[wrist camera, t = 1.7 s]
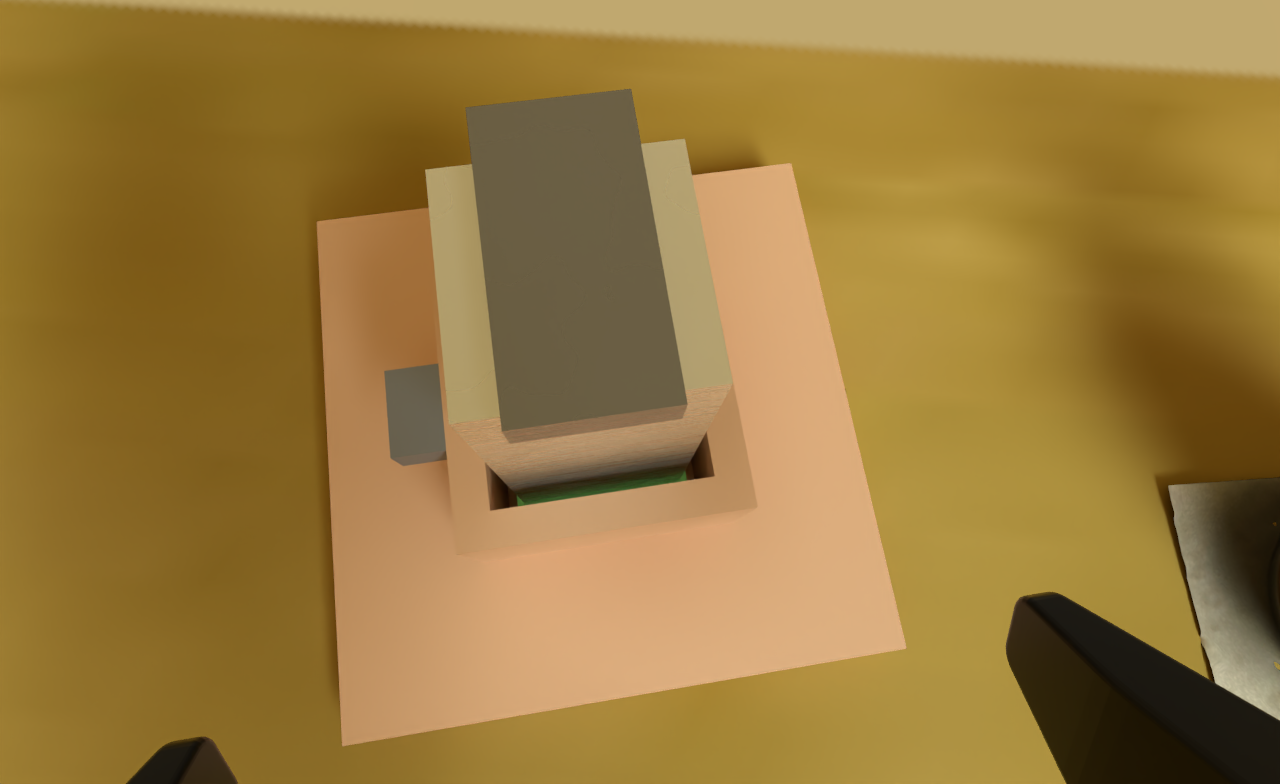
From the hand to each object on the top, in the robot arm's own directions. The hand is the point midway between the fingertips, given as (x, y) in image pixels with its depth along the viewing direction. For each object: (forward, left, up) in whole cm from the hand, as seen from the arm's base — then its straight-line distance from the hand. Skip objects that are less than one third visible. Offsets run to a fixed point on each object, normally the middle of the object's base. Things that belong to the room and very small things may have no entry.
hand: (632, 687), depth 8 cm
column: (+6, 0, -11) cm, 12 cm away
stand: (+6, 0, -12) cm, 13 cm away
